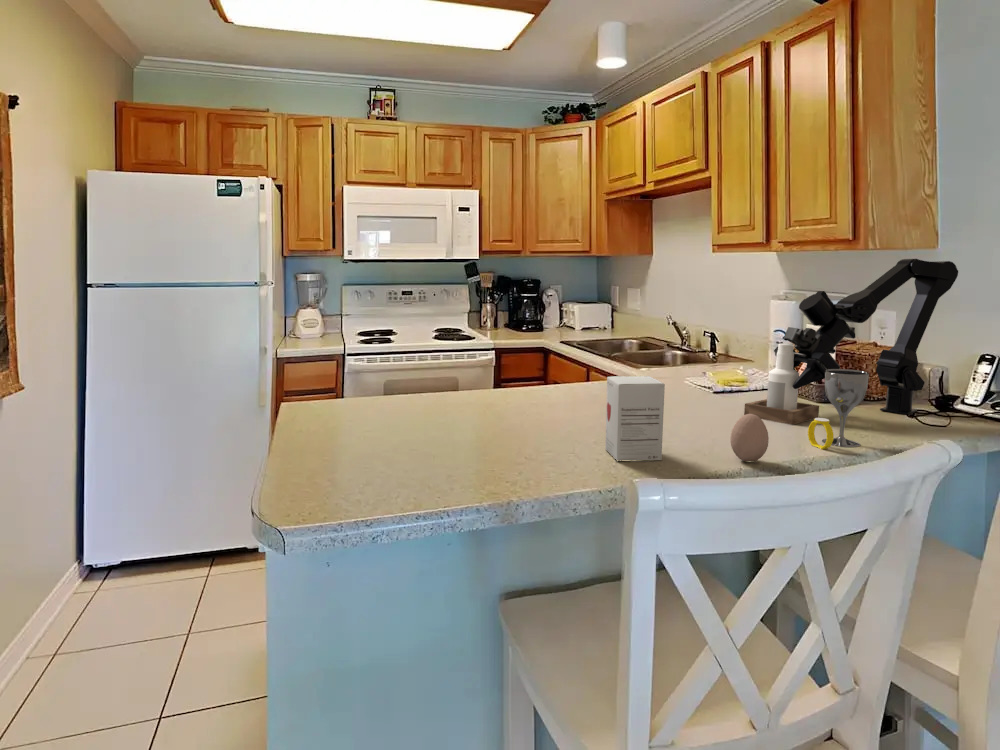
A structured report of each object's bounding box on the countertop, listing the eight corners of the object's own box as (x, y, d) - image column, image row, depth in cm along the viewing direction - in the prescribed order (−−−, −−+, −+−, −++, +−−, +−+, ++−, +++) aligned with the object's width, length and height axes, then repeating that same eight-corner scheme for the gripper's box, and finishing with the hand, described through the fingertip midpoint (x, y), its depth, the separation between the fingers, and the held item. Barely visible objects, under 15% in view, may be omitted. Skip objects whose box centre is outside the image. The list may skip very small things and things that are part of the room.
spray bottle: (769, 412, 164) (774, 342, 162) (798, 416, 161) (803, 343, 158) (763, 417, 159) (767, 344, 156) (793, 421, 155) (798, 346, 152)
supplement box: (603, 449, 129) (605, 375, 127) (647, 448, 130) (650, 375, 128) (615, 462, 120) (618, 383, 118) (662, 461, 121) (665, 382, 119)
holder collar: (771, 409, 168) (771, 398, 168) (818, 417, 159) (819, 405, 158) (744, 415, 161) (744, 403, 160) (792, 424, 151) (792, 412, 151)
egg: (728, 455, 125) (731, 409, 124) (765, 458, 123) (768, 411, 122) (730, 465, 119) (733, 416, 118) (768, 468, 117) (772, 418, 116)
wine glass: (868, 448, 130) (875, 375, 128) (825, 446, 132) (831, 374, 130) (855, 439, 138) (861, 369, 136) (815, 437, 140) (820, 368, 137)
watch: (835, 452, 129) (838, 423, 128) (822, 452, 128) (826, 424, 127) (814, 442, 135) (818, 415, 133) (803, 443, 134) (806, 415, 133)
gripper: (783, 313, 166) (741, 357, 166) (832, 318, 148) (785, 367, 147) (808, 343, 169) (767, 386, 168) (860, 351, 150) (814, 400, 150)
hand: (781, 384), depth 158 cm, fingers open, 9 cm apart
